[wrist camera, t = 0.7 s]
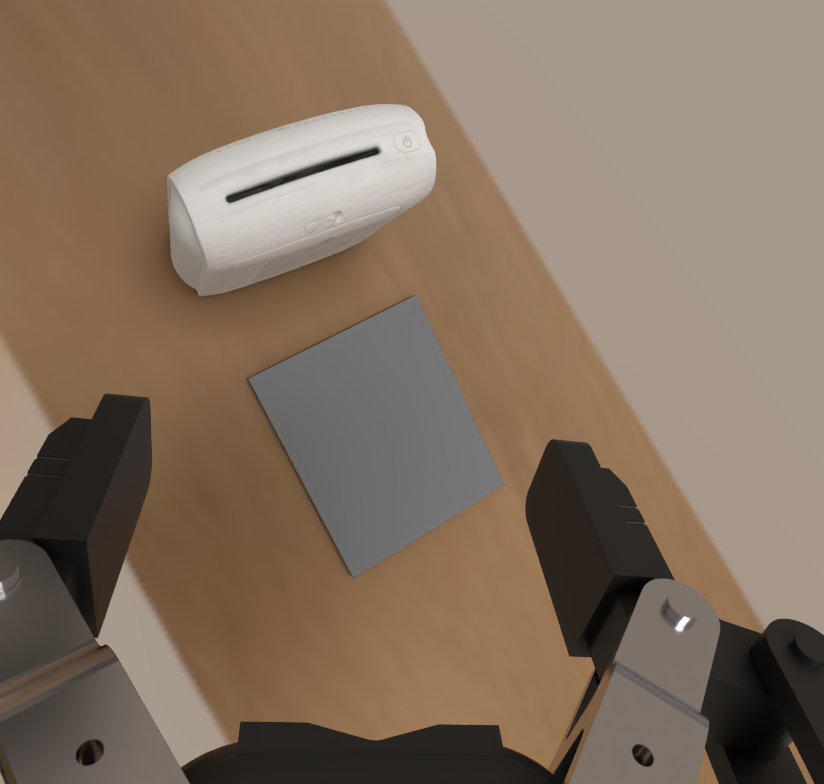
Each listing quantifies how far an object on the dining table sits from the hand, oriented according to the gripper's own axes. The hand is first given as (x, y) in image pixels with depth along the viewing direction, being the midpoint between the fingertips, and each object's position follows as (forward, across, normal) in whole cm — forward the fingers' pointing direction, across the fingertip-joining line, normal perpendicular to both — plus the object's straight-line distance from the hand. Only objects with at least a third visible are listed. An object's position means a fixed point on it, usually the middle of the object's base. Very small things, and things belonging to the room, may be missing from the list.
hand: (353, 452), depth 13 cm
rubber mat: (+18, -4, +14) cm, 23 cm away
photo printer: (+23, +3, +5) cm, 23 cm away
